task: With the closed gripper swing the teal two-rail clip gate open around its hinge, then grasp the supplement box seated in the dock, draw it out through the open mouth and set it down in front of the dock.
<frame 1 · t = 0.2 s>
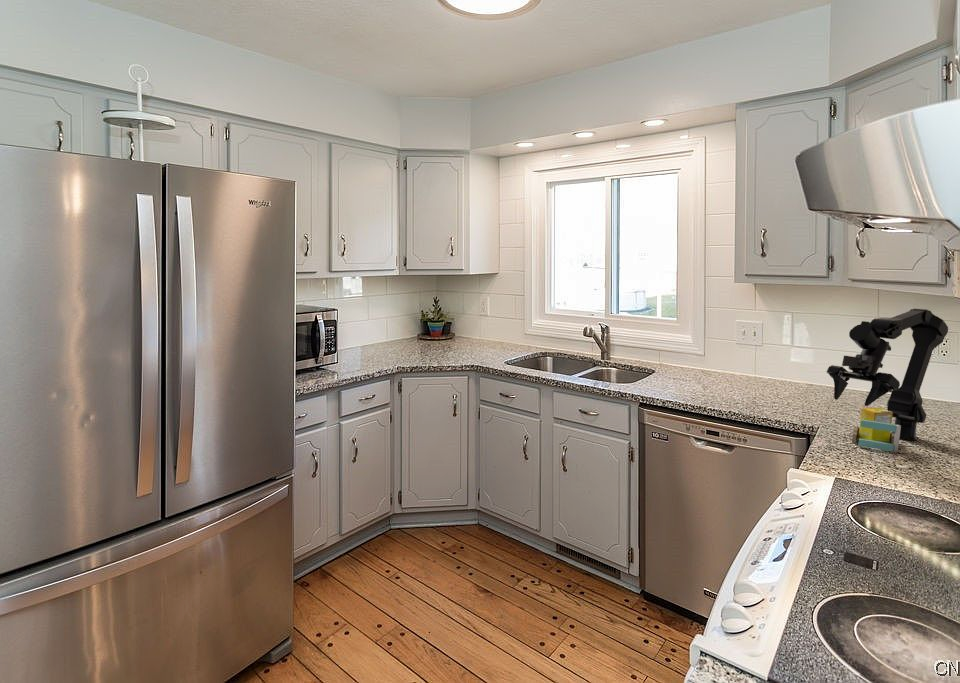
hand: (850, 402, 169), 15 cm above the countertop, tool tilted 30°, fingers open, 9 cm apart
clip gate: (879, 435, 171), point 5 cm above the countertop, hinge at 0.0°
dock: (873, 443, 178), on the countertop
supplement box: (873, 444, 178), on the countertop
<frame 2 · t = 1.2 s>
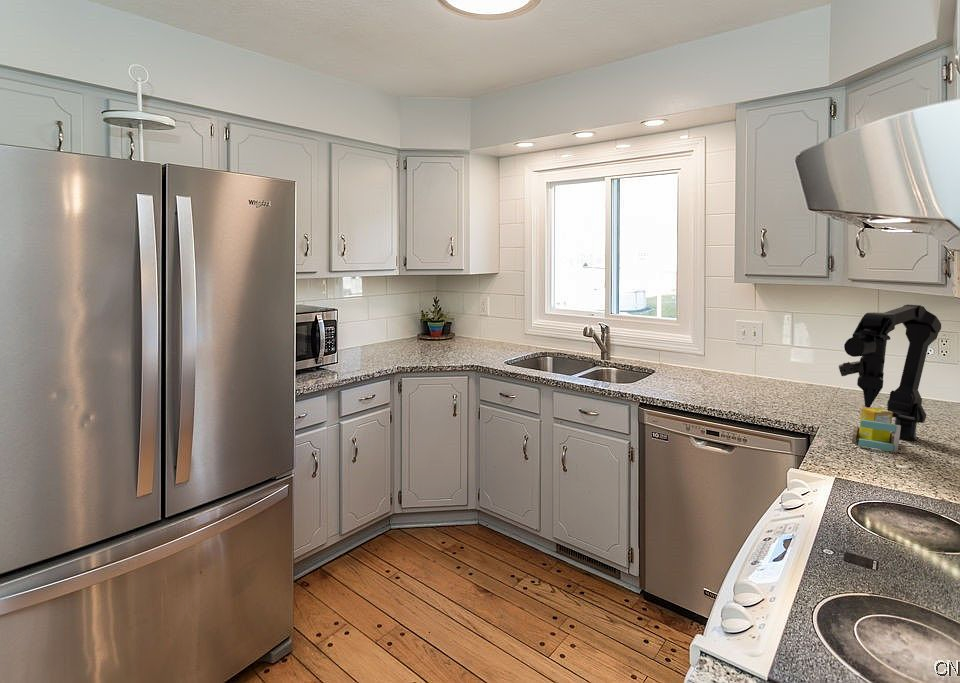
hand: (867, 405, 173), 13 cm above the countertop, tool pointing down, fingers open, 7 cm apart
nothing on the countertop moved.
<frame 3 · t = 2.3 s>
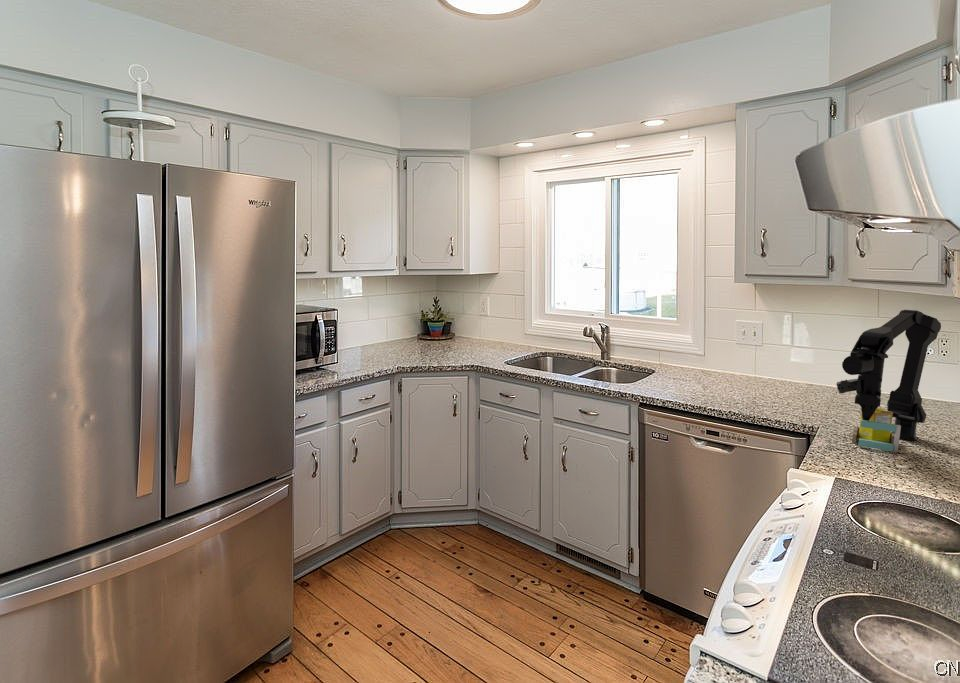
hand: (865, 422, 174), 7 cm above the countertop, tool pointing down, fingers closed
supplement box: (873, 444, 178), on the countertop, touching gripper
everything else where it was.
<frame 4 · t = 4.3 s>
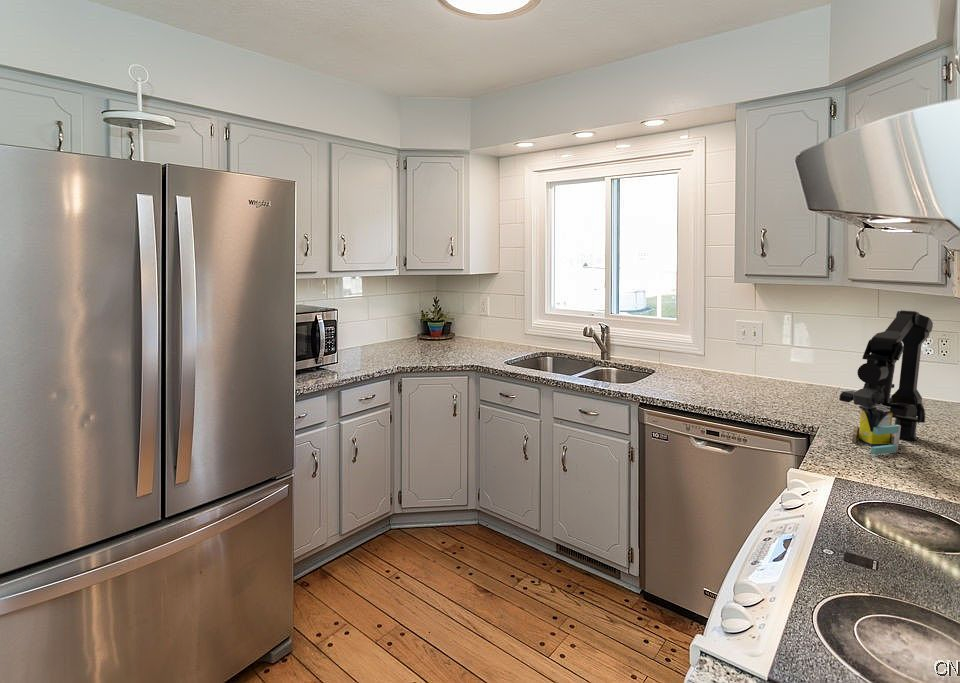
hand: (872, 431, 167), 7 cm above the countertop, tool pointing down, fingers closed
clip gate: (886, 439, 167), point 5 cm above the countertop, hinge at 53.8°, touching gripper
supplement box: (873, 444, 178), on the countertop
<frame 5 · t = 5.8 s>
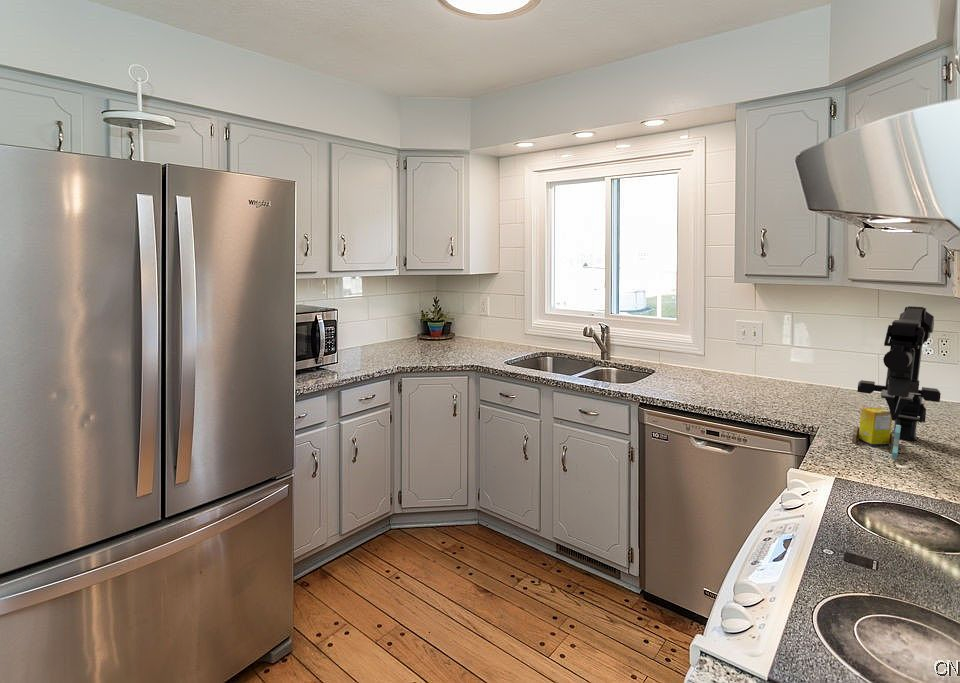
hand: (893, 420, 162), 12 cm above the countertop, tool pointing down, fingers closed
clip gate: (896, 441, 165), point 5 cm above the countertop, hinge at 87.8°
everything else where it was.
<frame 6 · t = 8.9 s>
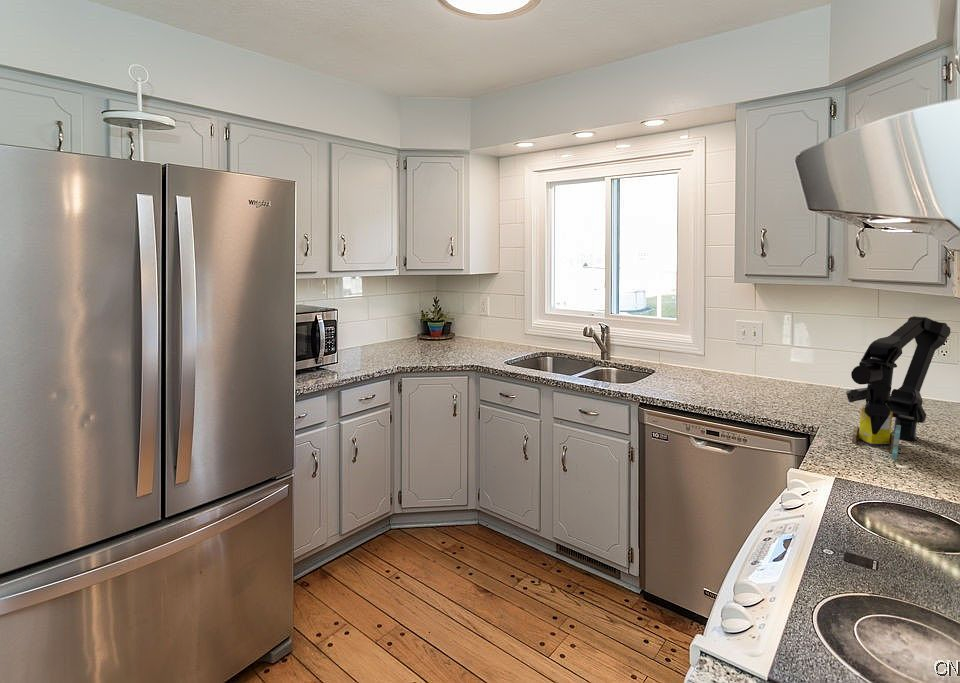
hand: (874, 430, 177), 4 cm above the countertop, tool pointing down, fingers closed on supplement box, 8 cm apart
supplement box: (873, 444, 178), on the countertop, touching gripper
everything else where it was.
when the fingers open (6 cm above the countertop, at t = 13.3 s): supplement box drops 2 cm, on the countertop.
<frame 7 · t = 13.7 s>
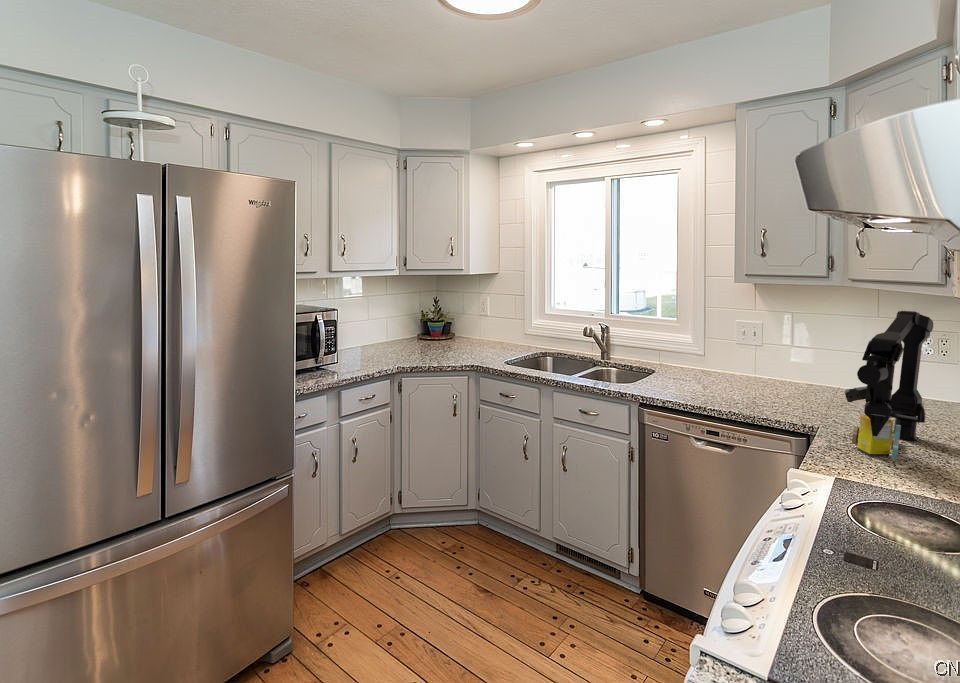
hand: (874, 432, 167), 6 cm above the countertop, tool pointing down, fingers open, 9 cm apart
supplement box: (872, 454, 168), on the countertop
everything else where it was.
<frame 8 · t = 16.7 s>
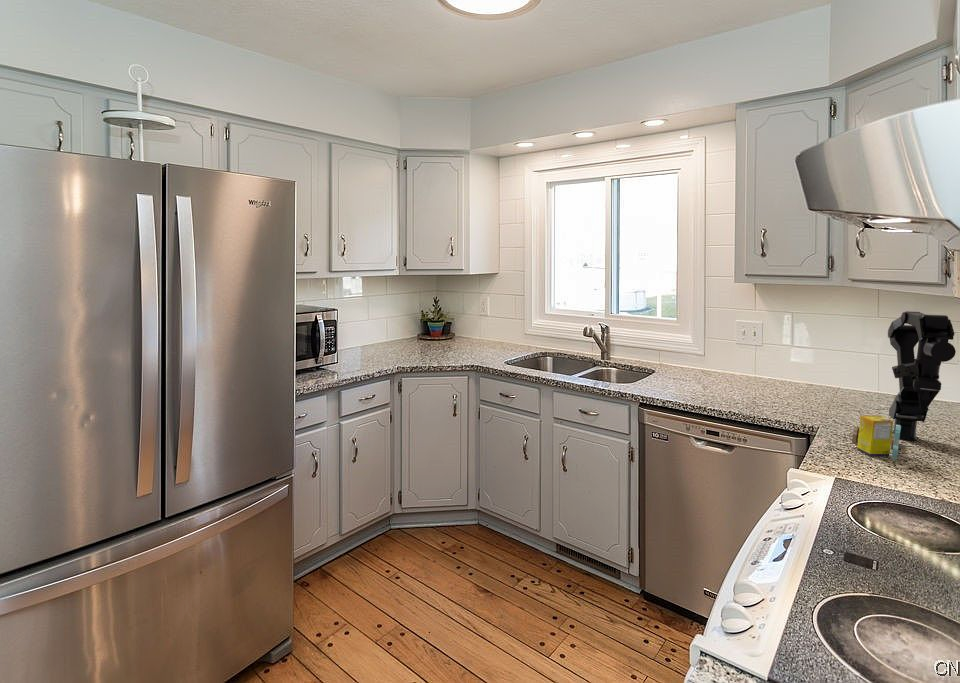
hand: (922, 407, 171), 13 cm above the countertop, tool pointing down, fingers open, 9 cm apart
nothing on the countertop moved.
at the end: clip gate at +88° (first picture: +0°); supplement box inside the target area (0.3 cm from its centre), on the countertop; supplement box tilted 0° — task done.
